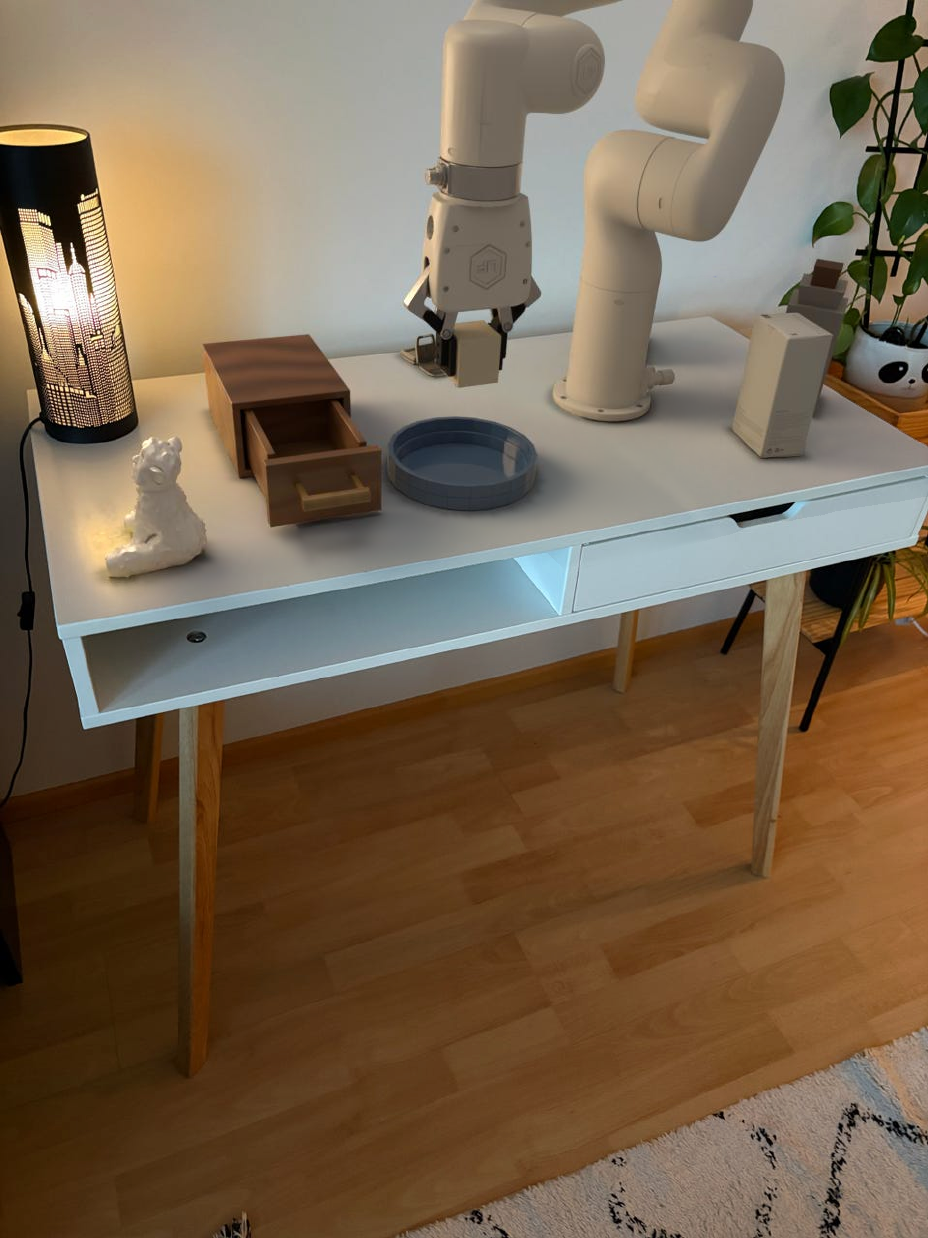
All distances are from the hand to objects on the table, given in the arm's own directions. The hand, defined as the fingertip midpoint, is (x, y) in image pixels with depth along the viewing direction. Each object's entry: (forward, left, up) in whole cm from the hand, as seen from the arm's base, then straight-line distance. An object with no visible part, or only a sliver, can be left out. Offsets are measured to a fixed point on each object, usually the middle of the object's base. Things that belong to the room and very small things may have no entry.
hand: (470, 366), depth 98 cm
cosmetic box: (-39, +3, -13) cm, 41 cm away
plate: (0, 0, -12) cm, 12 cm away
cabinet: (+17, -14, -12) cm, 26 cm away
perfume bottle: (-50, -6, -13) cm, 52 cm away
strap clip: (-7, -30, -13) cm, 33 cm away
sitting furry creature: (+33, +6, -13) cm, 36 cm away
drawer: (+17, +1, -12) cm, 21 cm away
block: (0, 0, -1) cm, 1 cm away
